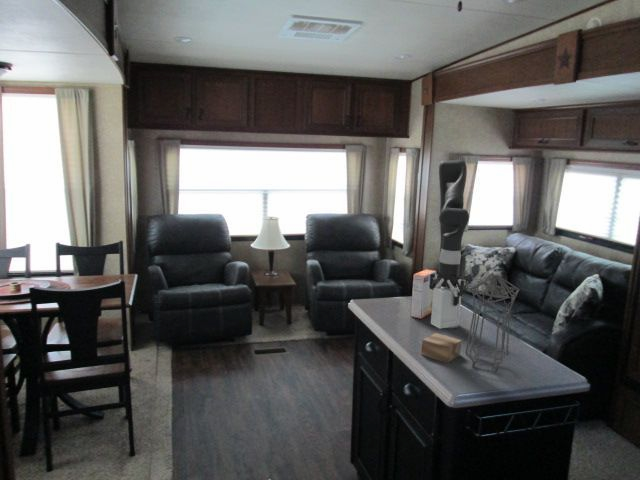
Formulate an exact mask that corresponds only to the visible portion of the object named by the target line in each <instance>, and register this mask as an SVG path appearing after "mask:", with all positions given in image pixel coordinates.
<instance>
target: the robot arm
mask: <svg viewBox="0 0 640 480" xmlns="http://www.w3.org/2000/svg"><path fill="white" fill-rule="evenodd" d="M467 169H468V168H467V164H466V162H465V160H460V159H458V160H456V159H455V160H442V161H440V162H439V166H438V178H439V195H440V196H439V197H440V199H439V200H440V201H439V202H440V206H439V208H440V209H439V210H440V211H439V217H438V221H439V225H440V228H439V229H440V242H439V243H440V245H439V261H438V262H439V263H438V273H437V272H436V273H433V274H431V275H430V285H429V288H430V289H432V290H433V291H434V288H439V287H447V288H451V290H452V291H453V293H454V295H455V296H454V302H453V306H457V305H458V312H457V323H456V326H453V327H446V328H445V329H457V328H459V321H460V311H461V310H460V309H461V302H462V301H461V300H462V297H463V296H465V295H466V288H467V280H466V279H464V277H465V270H466V264H467V259H466V256H465V255H463V254H461V249H462V242H463V241H462V240H463V236H464V233H465V231H466V229H467V228H466V227H467V225H468V224H469V223H468V222H469V220H470V214H469V212H468V210H467V209H465V208H464V203H465V202H464V194H465V193H464V192H465V188H466V181H467V174H468V173H467V172H468V170H467ZM448 184H452V185H450V187H449V186H448ZM437 279H438V283H436V280H437ZM458 289H459V290H460V292H459V290H458Z"/></svg>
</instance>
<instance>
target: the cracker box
mask: <svg viewBox="0 0 640 480" xmlns="http://www.w3.org/2000/svg"><path fill="white" fill-rule="evenodd" d="M433 273H436V274H437V271H436V270H431V269H427V268H426V269H424V270H421V271H418V272H416V273H414V274H413V275H412V277H413V278H412V290H411V291H412V292H411V293H412V294H411V306H410V317H412V318H415V319H421V320H422V319H423V318H426V317H427V316H428V315H432V303H433V292H434V291H433V290H432V289H430V288H429V285H430V275H431V274H433Z"/></svg>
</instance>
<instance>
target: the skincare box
mask: <svg viewBox="0 0 640 480" xmlns="http://www.w3.org/2000/svg"><path fill="white" fill-rule="evenodd" d="M458 290H459V289H458ZM459 292H460V290H459ZM454 296H455V295H454V293H453V291H452V290H451V288H447V287H439V288H434V292H433V303H432V313H431V314H430V316H431V317H430V324H431V325H432V326H435V327H436V328H438V329H440V330H441V329H447V328H446V327H453V326H456V323H457V312H458V305H457V306H453V302H454Z"/></svg>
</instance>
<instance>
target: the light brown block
mask: <svg viewBox="0 0 640 480" xmlns="http://www.w3.org/2000/svg"><path fill="white" fill-rule="evenodd" d="M461 349H462V340H461V339H459V338H458V339H457V338H456V337H452V336H449V335H444V334H442V333H439V332H435V333H433V334H431V335H428V336H427V337H425V338H423V339H422V341H421V351H420V354H421V356H425V357H428V358H431V359H434V360H437V361H440V362H443V363H446V364H448V363H450V362H451V361H453V360H454V359H456V358H457V357H459V356H461Z"/></svg>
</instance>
